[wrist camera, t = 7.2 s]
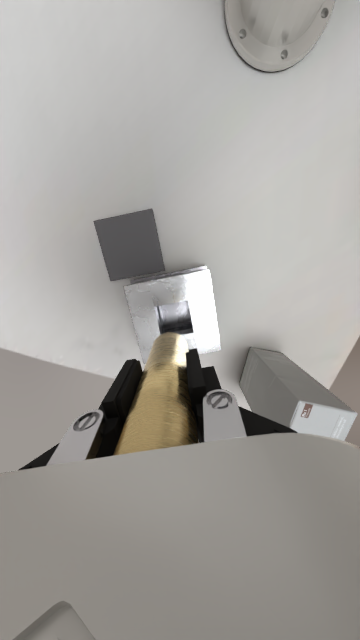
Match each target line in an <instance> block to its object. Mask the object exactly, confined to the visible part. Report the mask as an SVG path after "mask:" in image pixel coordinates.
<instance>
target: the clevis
mask: <svg viewBox="0 0 360 640" xmlns="http://www.w3.org/2000/svg"><path fill="white" fill-rule="evenodd" d="M123 288H124V291H125V295H126V299H127V303H128V306H129V310H130V314H131V318H132V321H133V325H134V329H135V333H136V336H137V340H138V344H139V348H140V351H141V355H142V359H143V363H144V364H146V362H147V360H148V357H149V354H150V351H151V348H152V346H153V343H154V341H155V339H156V338H157V337H158V336H160V335H161V334H163V333H167V332H173V333H177V334H179V335H181V336H182V337H183V338H184V339H185V340H186V342H187V344H188V351H189V349H195V348H197V351H198V354H204V353H209V352H215V351H221V346H220V339H219V332H218V325H217V318H216V311H215V304H214V297H213V290H212V283H211V276H210V270H207V267H206V266H202V267H197V268H192V269H186V270H181V271H176V272H171V273H166V274H161V275H156V276H151V277H146V278H141V279H136V280H131V285H127V286H123Z"/></svg>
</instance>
